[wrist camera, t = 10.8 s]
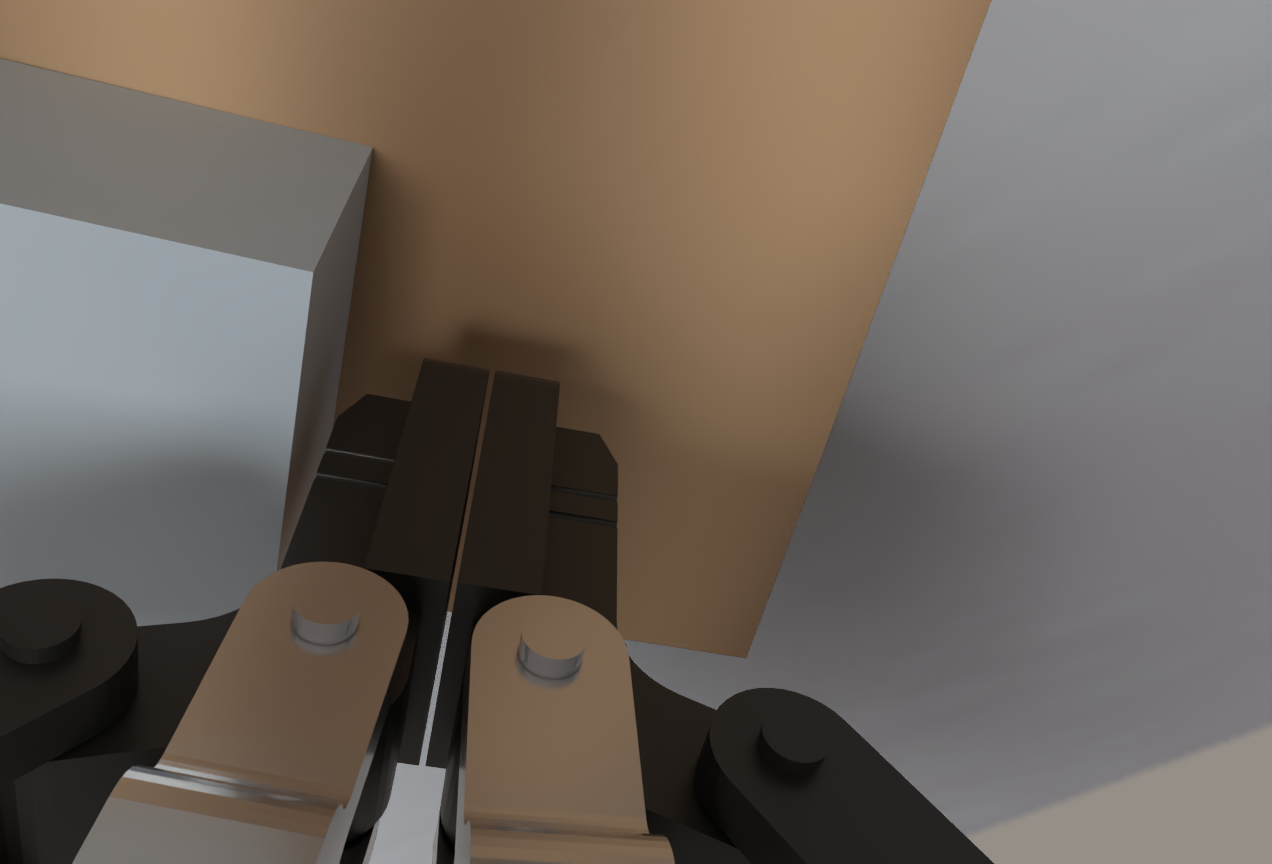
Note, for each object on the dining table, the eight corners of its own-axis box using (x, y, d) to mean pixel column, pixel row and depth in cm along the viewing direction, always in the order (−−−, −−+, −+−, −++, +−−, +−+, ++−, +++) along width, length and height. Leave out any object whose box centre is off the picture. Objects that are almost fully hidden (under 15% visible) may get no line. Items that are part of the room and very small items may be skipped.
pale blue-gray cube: (373, 147, 13) (313, 272, 10) (324, 482, 15) (266, 650, 12) (-78, 39, 12) (-263, 145, 9) (-53, 408, 14) (-195, 571, 12)
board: (1108, -686, 12) (1296, -815, 9) (725, 489, 20) (746, 658, 17) (81, -1013, 11) (-165, -1308, 7) (113, 381, 19) (2, 540, 15)
